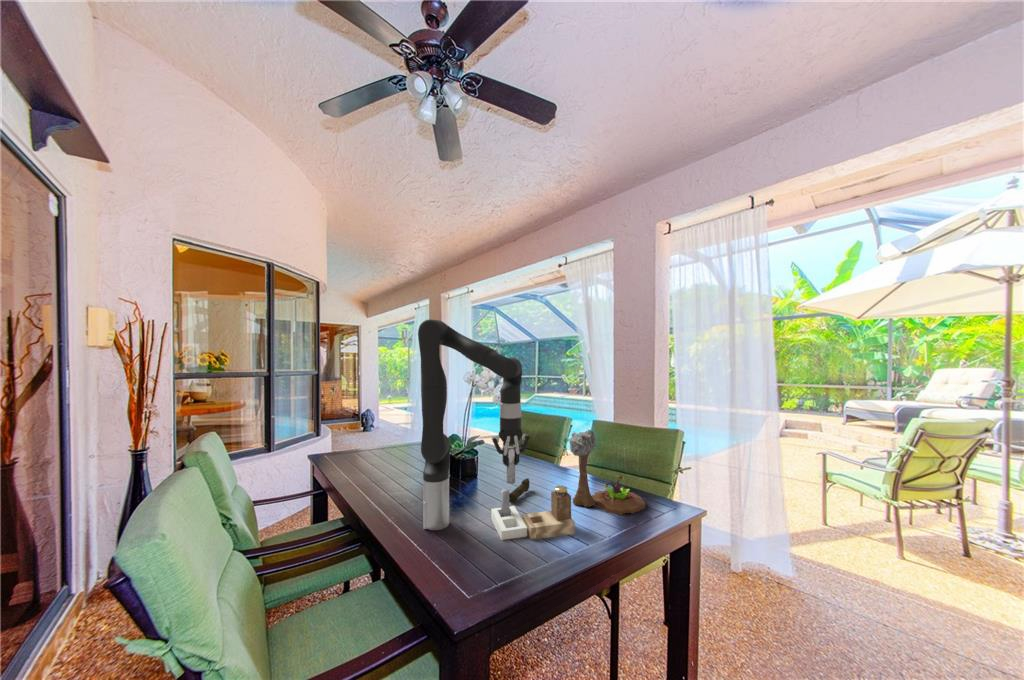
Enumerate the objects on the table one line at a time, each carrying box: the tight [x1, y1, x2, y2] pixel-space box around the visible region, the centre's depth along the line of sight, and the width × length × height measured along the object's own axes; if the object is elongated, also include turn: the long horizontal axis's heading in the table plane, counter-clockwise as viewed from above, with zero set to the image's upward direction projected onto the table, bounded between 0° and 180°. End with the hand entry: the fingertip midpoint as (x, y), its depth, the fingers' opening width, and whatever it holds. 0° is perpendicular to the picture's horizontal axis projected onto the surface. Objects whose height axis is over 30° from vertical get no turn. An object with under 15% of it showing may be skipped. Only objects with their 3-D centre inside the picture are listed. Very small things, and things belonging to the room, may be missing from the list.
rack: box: [490, 488, 528, 541], centre depth 131 cm, size 9×17×12 cm, turn 15°
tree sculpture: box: [568, 429, 597, 508], centre depth 151 cm, size 15×10×30 cm
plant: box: [591, 475, 646, 516], centre depth 151 cm, size 20×20×11 cm
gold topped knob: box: [554, 485, 568, 496], centre depth 130 cm, size 4×4×7 cm
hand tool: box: [509, 478, 530, 504], centre depth 159 cm, size 19×4×5 cm, turn 152°
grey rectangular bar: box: [506, 446, 516, 485], centre depth 127 cm, size 3×3×12 cm
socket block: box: [521, 490, 576, 541], centre depth 129 cm, size 16×10×13 cm, turn 105°
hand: (510, 464), depth 127 cm, fingers closed on grey rectangular bar, 3 cm apart
